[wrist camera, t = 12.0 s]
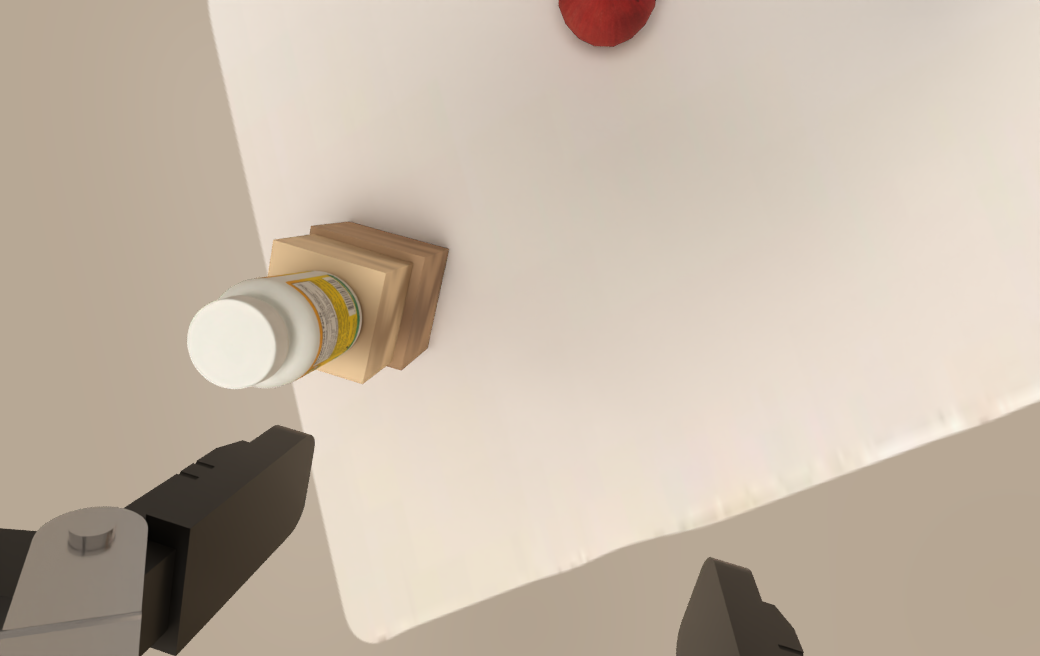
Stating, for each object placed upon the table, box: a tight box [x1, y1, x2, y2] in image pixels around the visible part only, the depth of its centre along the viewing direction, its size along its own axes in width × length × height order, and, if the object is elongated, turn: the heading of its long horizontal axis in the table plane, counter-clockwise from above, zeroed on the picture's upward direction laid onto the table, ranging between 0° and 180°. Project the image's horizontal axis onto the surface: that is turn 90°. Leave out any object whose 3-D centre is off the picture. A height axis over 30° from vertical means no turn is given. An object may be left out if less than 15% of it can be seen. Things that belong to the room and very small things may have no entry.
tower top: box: [268, 234, 414, 384], centre depth 38 cm, size 7×7×5 cm
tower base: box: [310, 222, 449, 370], centre depth 43 cm, size 8×8×6 cm
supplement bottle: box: [187, 271, 362, 389], centre depth 30 cm, size 5×5×10 cm
